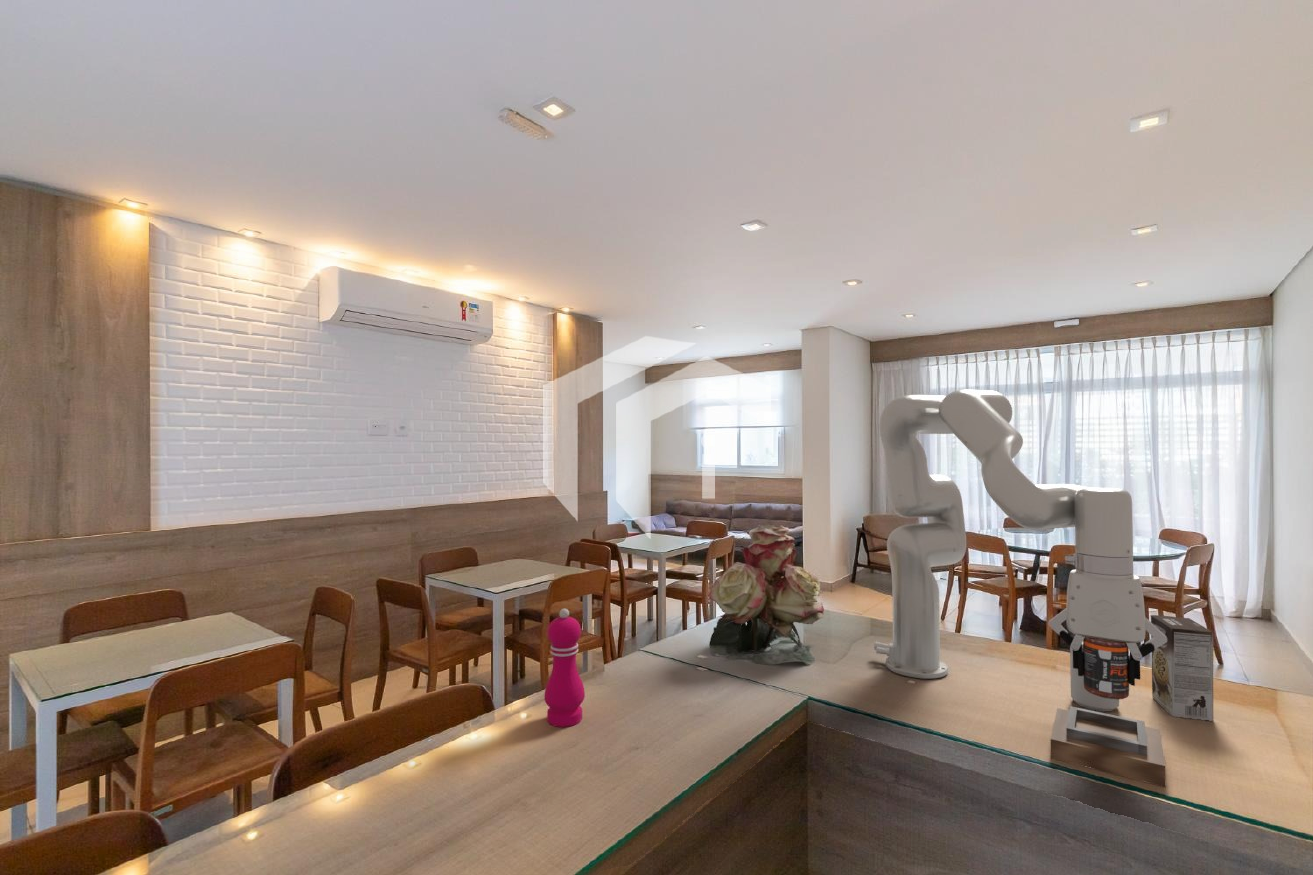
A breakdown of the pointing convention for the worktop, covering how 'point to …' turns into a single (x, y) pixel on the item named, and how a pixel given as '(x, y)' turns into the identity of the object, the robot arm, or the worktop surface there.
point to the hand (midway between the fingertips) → (1106, 677)
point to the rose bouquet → (765, 602)
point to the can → (1088, 693)
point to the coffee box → (1183, 668)
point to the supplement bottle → (1106, 668)
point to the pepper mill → (564, 673)
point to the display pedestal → (1108, 744)
